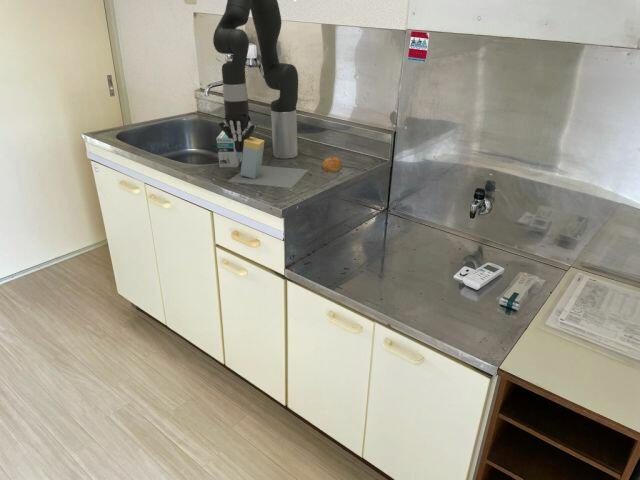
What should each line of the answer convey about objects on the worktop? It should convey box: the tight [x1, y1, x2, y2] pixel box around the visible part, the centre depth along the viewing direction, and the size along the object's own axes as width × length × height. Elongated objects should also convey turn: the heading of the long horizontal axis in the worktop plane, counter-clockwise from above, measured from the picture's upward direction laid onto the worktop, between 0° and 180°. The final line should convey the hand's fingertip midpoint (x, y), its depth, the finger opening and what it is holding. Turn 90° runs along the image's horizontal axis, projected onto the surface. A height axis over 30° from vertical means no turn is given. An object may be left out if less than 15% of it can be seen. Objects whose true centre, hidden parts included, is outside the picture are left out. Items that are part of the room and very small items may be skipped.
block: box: [240, 136, 265, 179], centre depth 158 cm, size 5×5×12 cm
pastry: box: [321, 156, 342, 174], centre depth 167 cm, size 9×7×4 cm
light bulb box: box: [216, 130, 243, 168], centre depth 173 cm, size 11×7×11 cm, turn 179°
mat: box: [227, 165, 309, 189], centre depth 162 cm, size 18×22×1 cm
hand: (240, 151), depth 159 cm, fingers closed
